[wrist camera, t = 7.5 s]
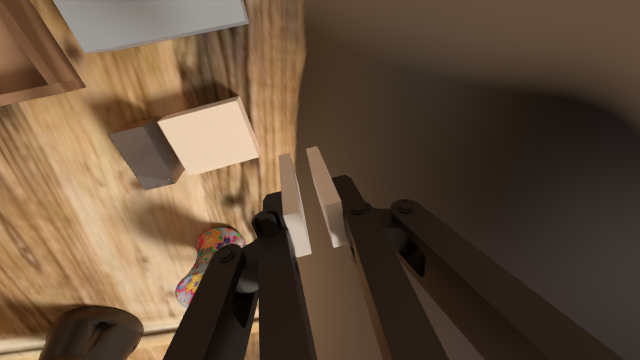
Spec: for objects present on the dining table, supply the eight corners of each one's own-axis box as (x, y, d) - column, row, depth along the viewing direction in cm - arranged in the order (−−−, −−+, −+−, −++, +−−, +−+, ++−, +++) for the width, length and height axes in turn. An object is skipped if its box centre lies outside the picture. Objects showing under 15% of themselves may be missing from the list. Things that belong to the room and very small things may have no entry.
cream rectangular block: (195, 165, 37) (189, 176, 34) (167, 114, 33) (157, 121, 30) (259, 147, 37) (258, 157, 34) (239, 95, 33) (236, 100, 30)
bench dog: (158, 174, 36) (145, 190, 32) (127, 123, 32) (107, 134, 28) (185, 168, 36) (175, 183, 32) (157, 116, 32) (142, 126, 28)
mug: (194, 220, 41) (173, 271, 32) (251, 224, 44) (246, 272, 35) (195, 269, 47) (176, 325, 38) (245, 270, 49) (239, 322, 40)
